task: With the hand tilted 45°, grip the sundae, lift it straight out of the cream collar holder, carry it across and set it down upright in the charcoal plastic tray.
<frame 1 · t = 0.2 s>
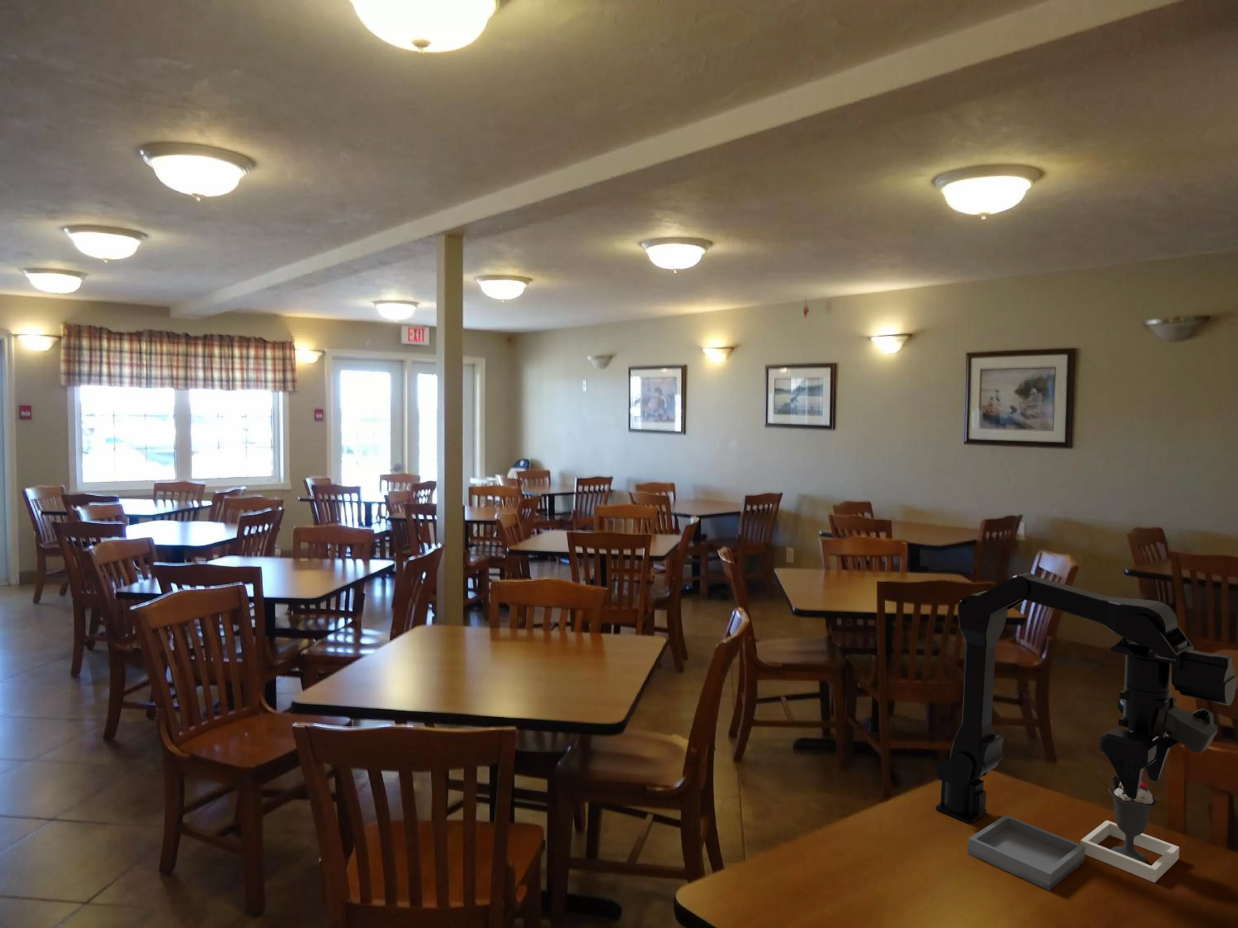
hand: (1143, 788, 122), 15 cm above the table, tool pointing down, fingers open, 9 cm apart
collar holder: (1128, 855, 130), on the table
tray: (1025, 857, 129), on the table
sundae: (1128, 856, 130), resting in collar holder
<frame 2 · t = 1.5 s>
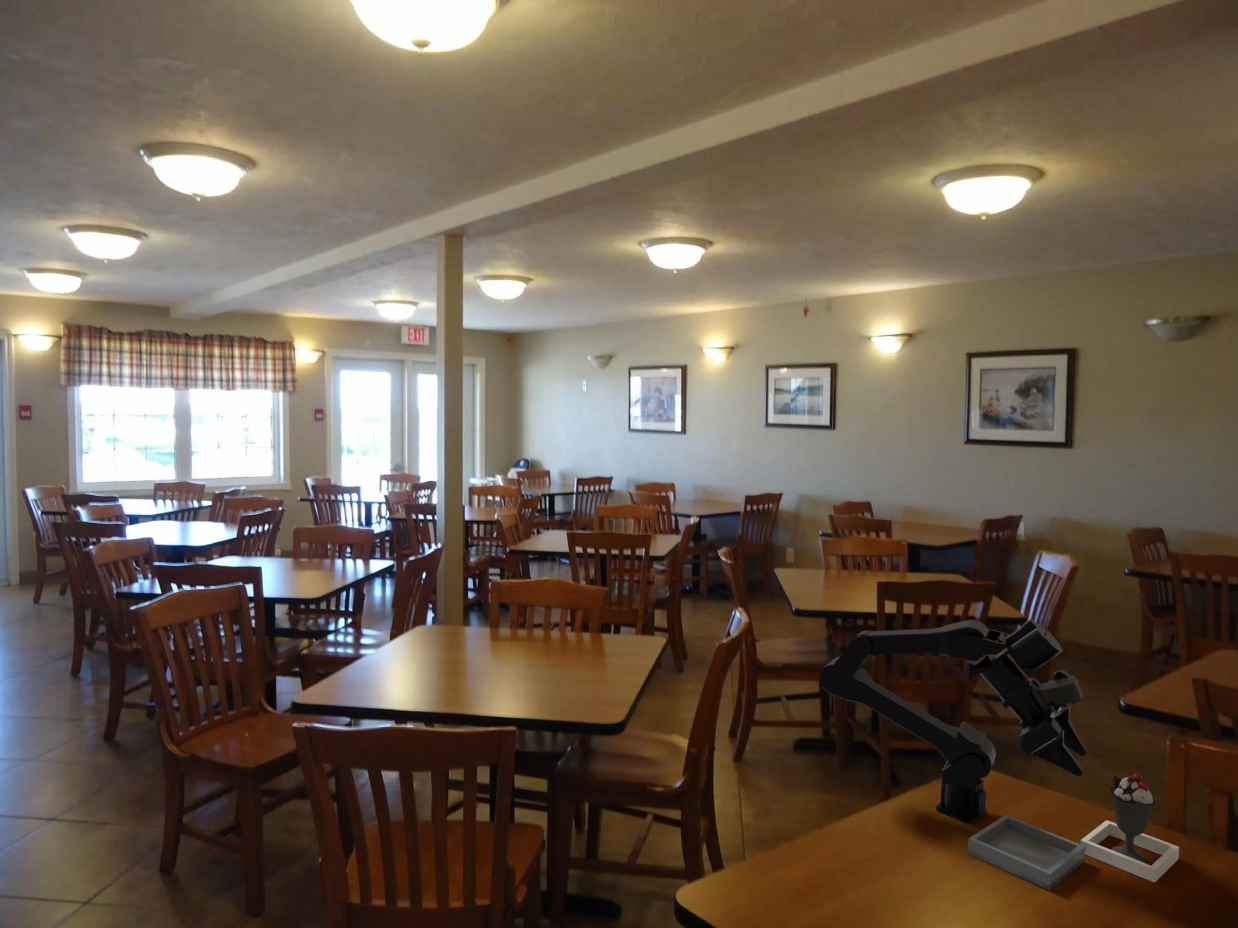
hand: (1082, 764, 133), 13 cm above the table, tool tilted 45°, fingers open, 9 cm apart
nothing on the table moved.
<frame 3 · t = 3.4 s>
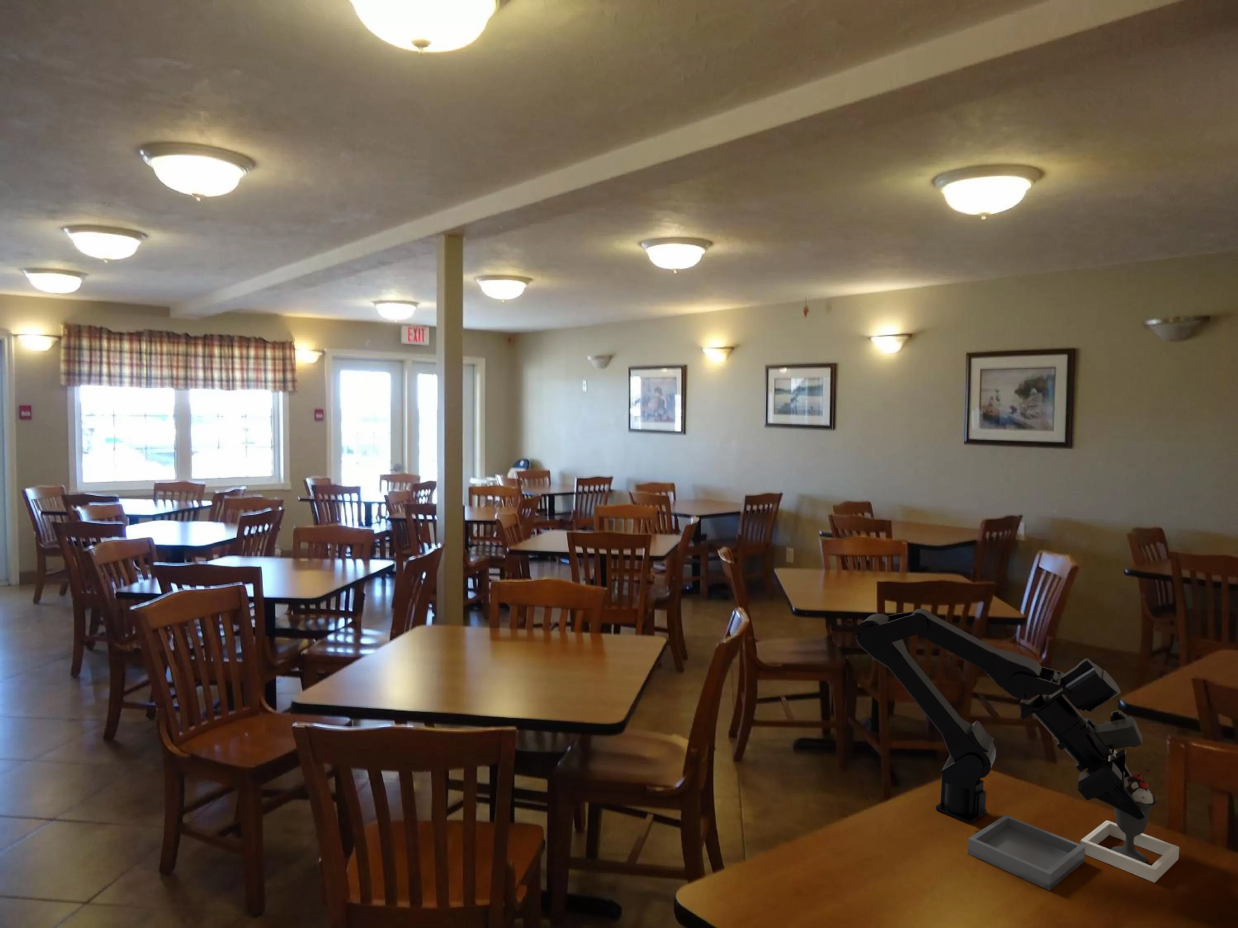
hand: (1142, 809, 129), 8 cm above the table, tool tilted 45°, fingers closed on sundae, 6 cm apart
sundae: (1128, 856, 130), resting in collar holder, touching gripper
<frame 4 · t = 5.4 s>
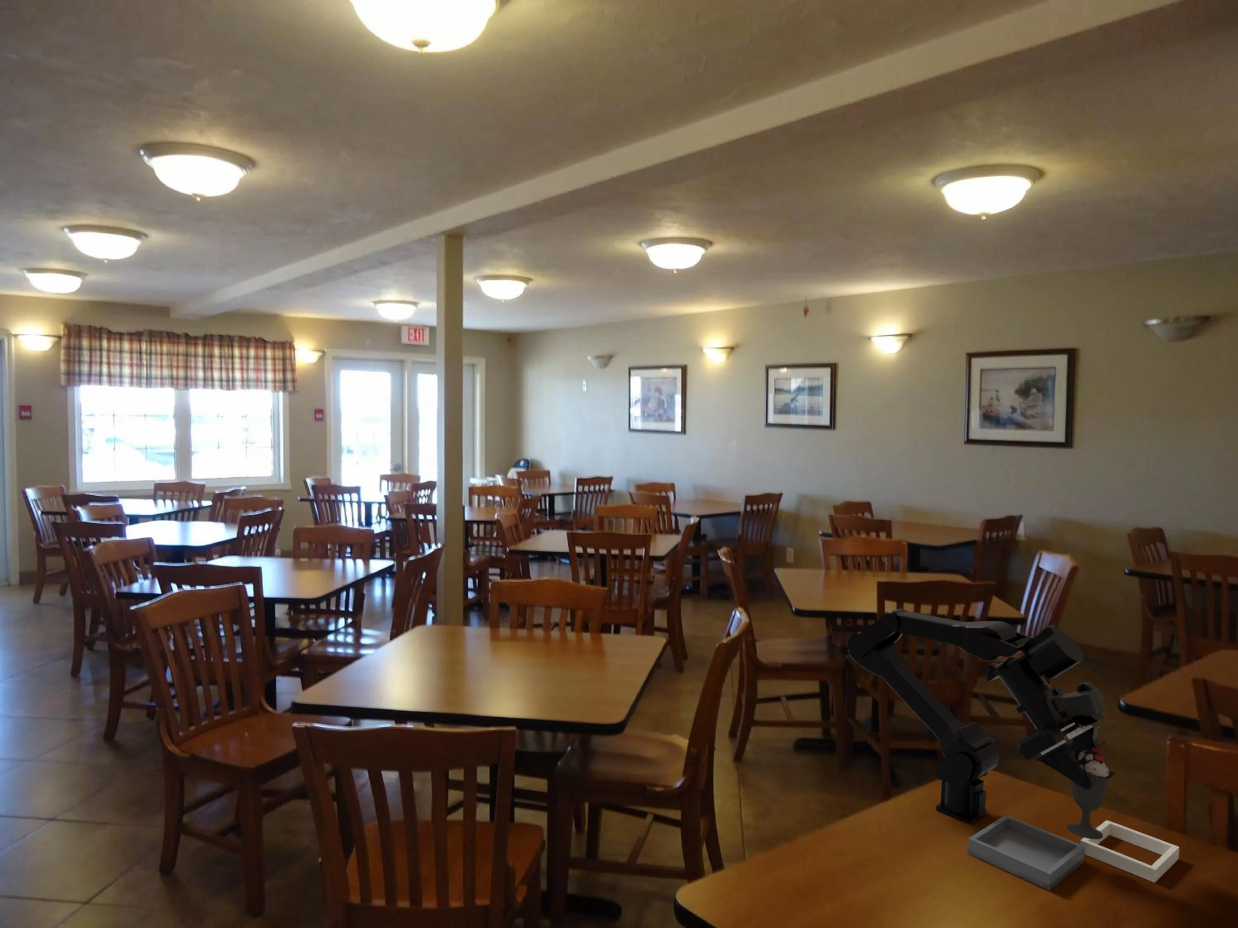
hand: (1098, 782, 126), 14 cm above the table, tool tilted 45°, fingers closed on sundae, 6 cm apart
sundae: (1085, 832, 127), point 5 cm above the table, touching gripper
when the fingers open (10 cm above the table, at t = 7.3 s): sundae moves 1 cm, resting on tray.
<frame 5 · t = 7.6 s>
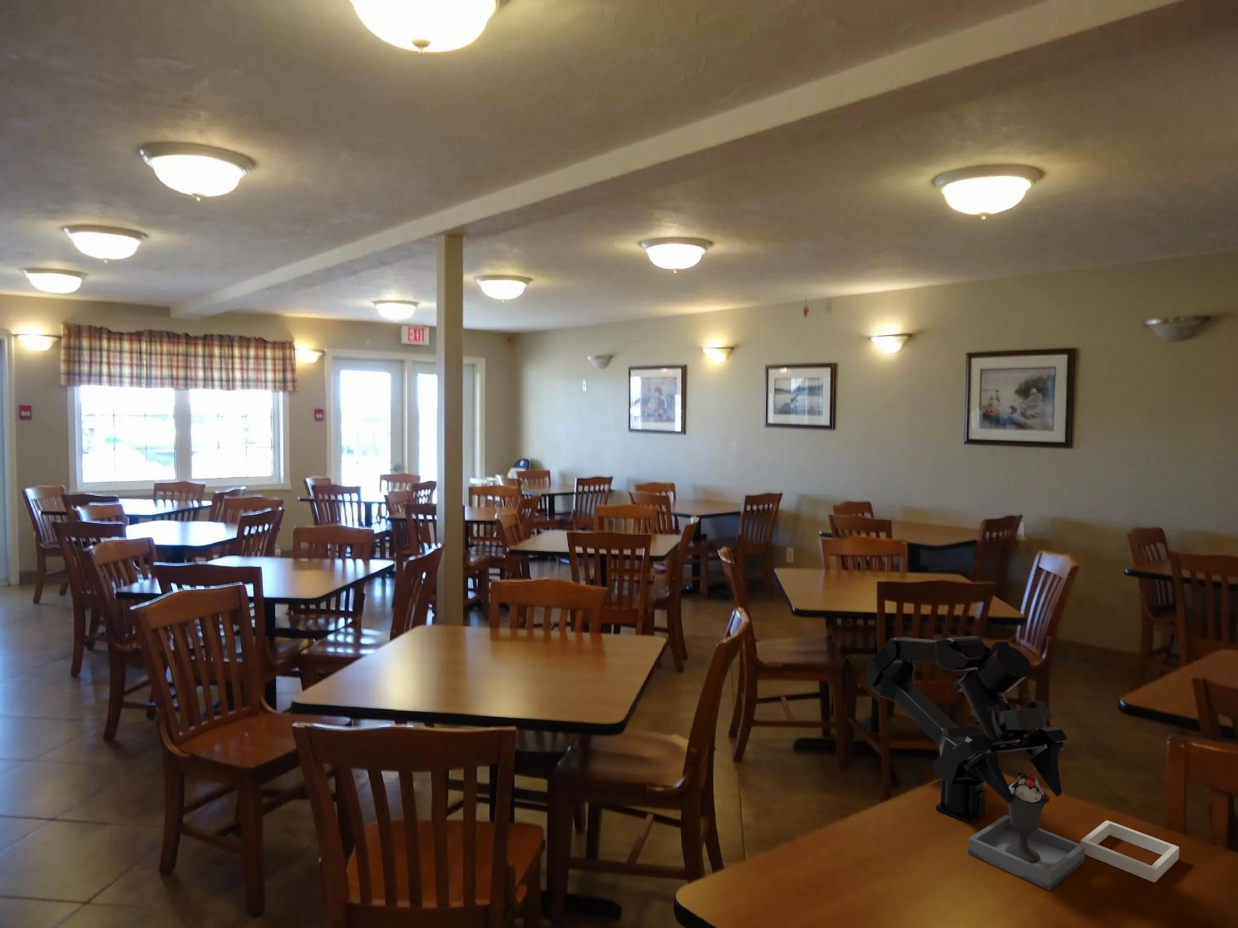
hand: (1035, 798, 127), 10 cm above the table, tool tilted 45°, fingers open, 9 cm apart
sundae: (1022, 855, 129), point 1 cm above the table, touching tray
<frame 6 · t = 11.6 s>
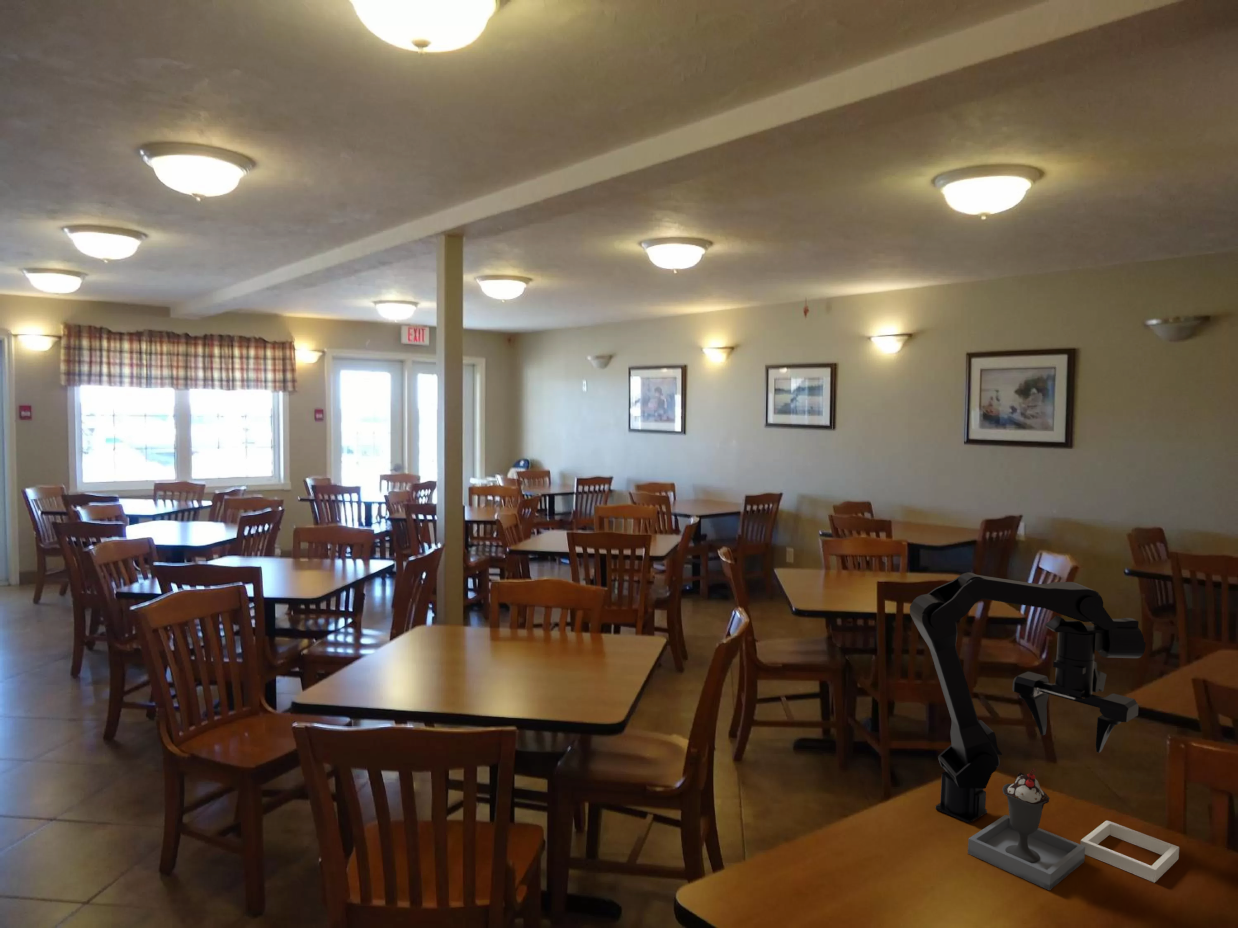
hand: (1070, 742, 142), 13 cm above the table, tool pointing down, fingers open, 9 cm apart
nothing on the table moved.
at the end: sundae inside the target area on the tray (1.0 cm from its centre), point 0.6 cm above the tray's base; sundae tilted 0°; the gripper is holding nothing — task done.
